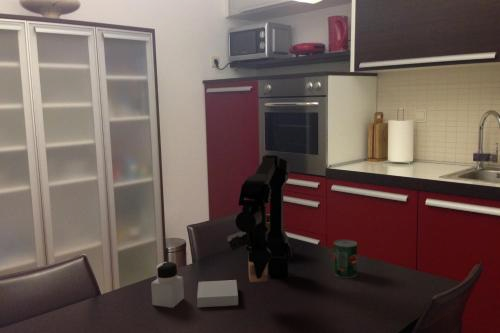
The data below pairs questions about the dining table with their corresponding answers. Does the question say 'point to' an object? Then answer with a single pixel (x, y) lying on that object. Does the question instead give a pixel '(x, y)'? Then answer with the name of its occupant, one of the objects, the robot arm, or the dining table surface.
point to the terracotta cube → (253, 274)
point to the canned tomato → (345, 258)
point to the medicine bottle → (167, 286)
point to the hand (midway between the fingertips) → (257, 274)
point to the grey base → (217, 293)
